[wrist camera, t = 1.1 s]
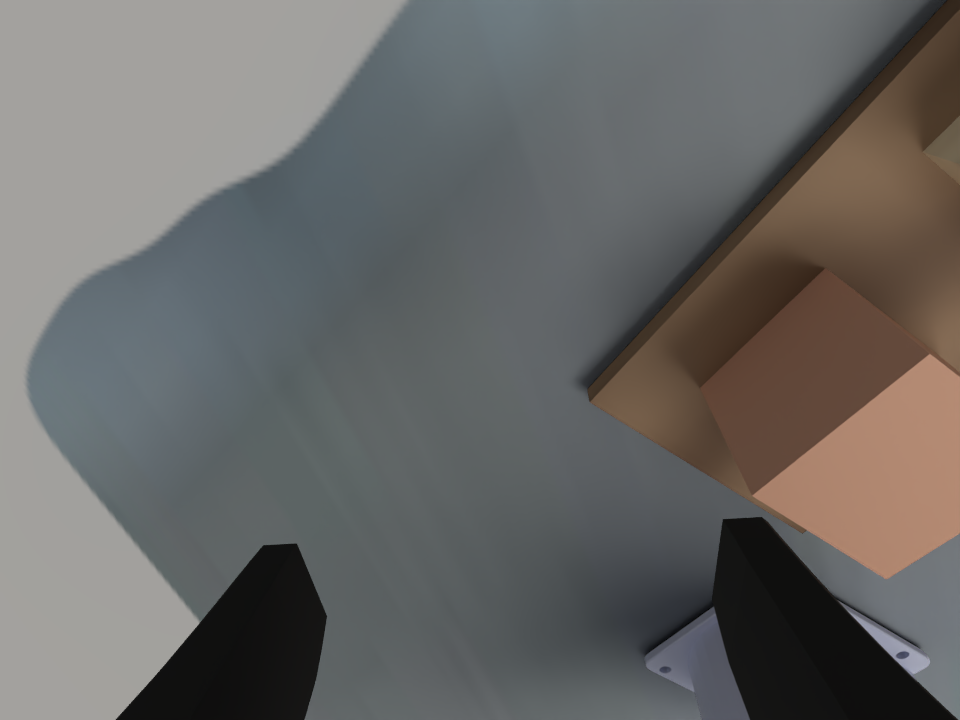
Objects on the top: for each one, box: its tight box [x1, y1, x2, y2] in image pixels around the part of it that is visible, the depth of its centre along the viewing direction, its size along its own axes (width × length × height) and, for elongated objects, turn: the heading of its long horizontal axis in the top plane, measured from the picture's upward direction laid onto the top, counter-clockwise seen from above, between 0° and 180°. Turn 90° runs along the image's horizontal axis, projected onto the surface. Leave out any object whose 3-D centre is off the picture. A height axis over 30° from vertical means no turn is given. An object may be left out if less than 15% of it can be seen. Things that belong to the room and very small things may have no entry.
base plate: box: [588, 0, 960, 534], centre depth 17 cm, size 10×18×1 cm, turn 146°
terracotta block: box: [700, 268, 960, 579], centre depth 16 cm, size 5×5×5 cm
